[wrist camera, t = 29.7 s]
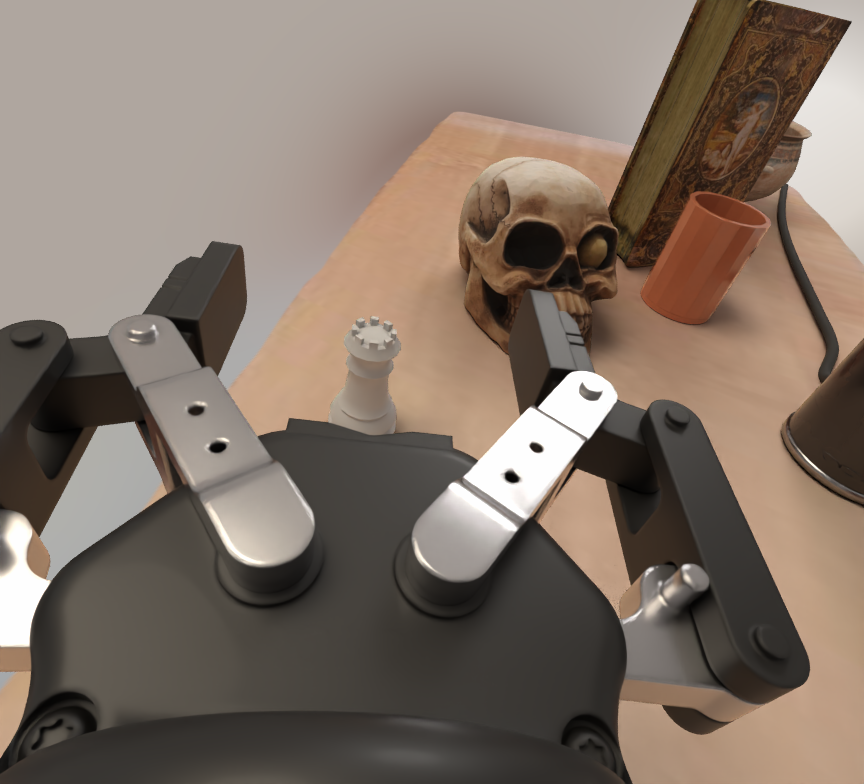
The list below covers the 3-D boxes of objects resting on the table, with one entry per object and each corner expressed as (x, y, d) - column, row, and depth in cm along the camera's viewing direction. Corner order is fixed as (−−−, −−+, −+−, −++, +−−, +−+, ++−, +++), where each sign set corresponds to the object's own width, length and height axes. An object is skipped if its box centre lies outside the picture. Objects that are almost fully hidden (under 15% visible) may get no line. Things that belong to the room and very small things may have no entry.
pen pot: (658, 277, 59) (707, 186, 52) (719, 310, 56) (780, 218, 49) (628, 296, 55) (678, 198, 48) (693, 333, 51) (756, 234, 44)
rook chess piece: (314, 416, 34) (319, 316, 29) (372, 395, 37) (385, 299, 32) (349, 462, 32) (361, 364, 27) (408, 436, 35) (429, 342, 29)
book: (684, 237, 70) (808, 10, 53) (716, 258, 66) (859, 23, 50) (592, 244, 62) (702, -15, 46) (622, 268, 59) (752, -2, 42)
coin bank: (562, 386, 41) (618, 217, 33) (397, 303, 49) (411, 150, 41) (633, 321, 52) (689, 182, 44) (489, 262, 59) (514, 134, 51)
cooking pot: (634, 157, 93) (667, 81, 85) (735, 181, 94) (777, 107, 86) (666, 215, 74) (713, 124, 66) (792, 243, 75) (853, 157, 67)
